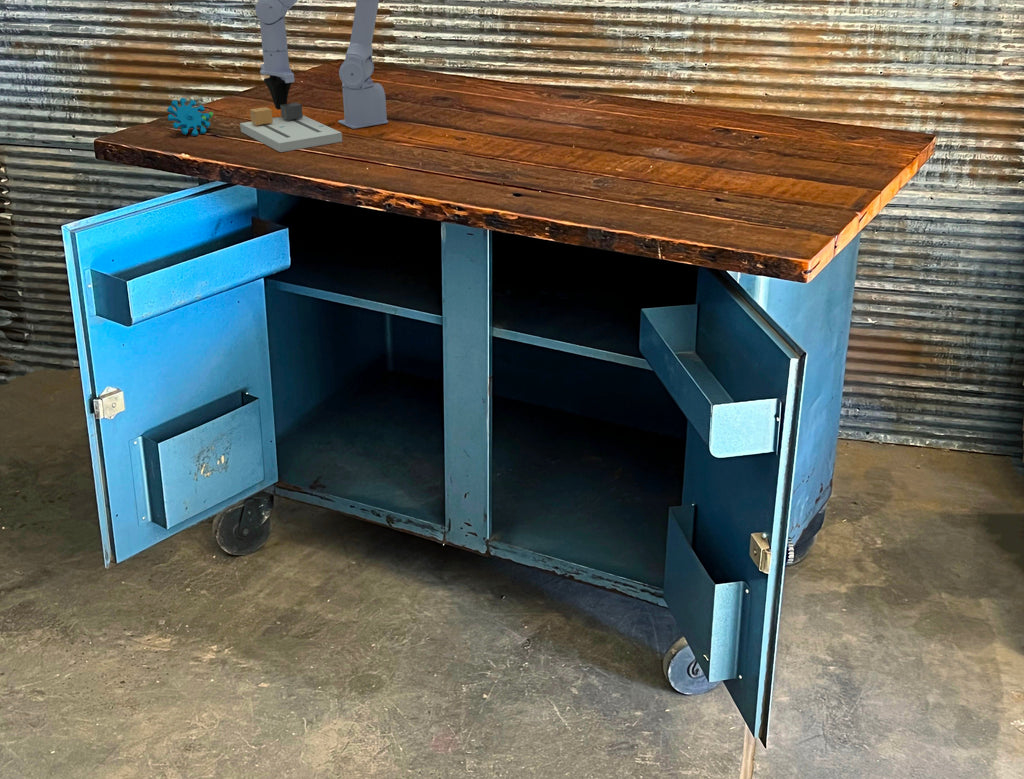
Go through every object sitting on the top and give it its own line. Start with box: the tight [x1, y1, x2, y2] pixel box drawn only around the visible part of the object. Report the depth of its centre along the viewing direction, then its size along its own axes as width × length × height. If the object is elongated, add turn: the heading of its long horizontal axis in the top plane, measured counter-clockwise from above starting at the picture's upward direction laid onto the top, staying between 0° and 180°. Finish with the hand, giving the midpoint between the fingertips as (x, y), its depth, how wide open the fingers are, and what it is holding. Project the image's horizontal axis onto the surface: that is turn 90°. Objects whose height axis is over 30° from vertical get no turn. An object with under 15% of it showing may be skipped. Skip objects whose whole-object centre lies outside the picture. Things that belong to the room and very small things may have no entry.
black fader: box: [280, 102, 304, 120], centre depth 286 cm, size 4×3×3 cm
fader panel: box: [239, 114, 343, 153], centre depth 280 cm, size 15×22×2 cm
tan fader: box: [249, 106, 273, 125], centre depth 283 cm, size 4×3×3 cm
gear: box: [166, 97, 214, 137], centre depth 285 cm, size 11×6×10 cm
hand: (280, 108), depth 291 cm, fingers closed
